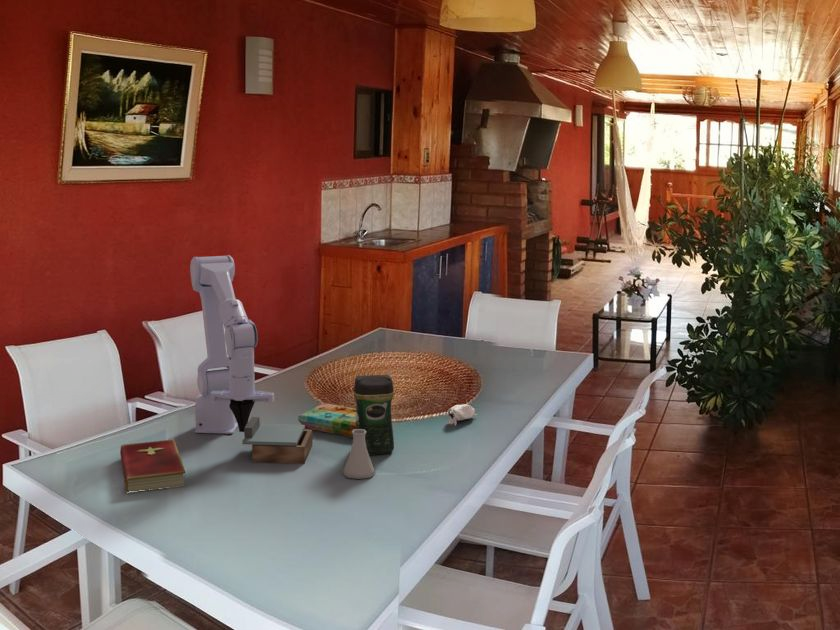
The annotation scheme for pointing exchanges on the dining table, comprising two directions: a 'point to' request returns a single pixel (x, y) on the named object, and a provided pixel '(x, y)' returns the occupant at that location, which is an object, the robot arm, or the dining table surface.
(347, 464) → the flask
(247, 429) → the lid
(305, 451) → the box
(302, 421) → the puzzle game
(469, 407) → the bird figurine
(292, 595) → the dining table surface
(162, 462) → the hardcover book
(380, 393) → the coffee jar
